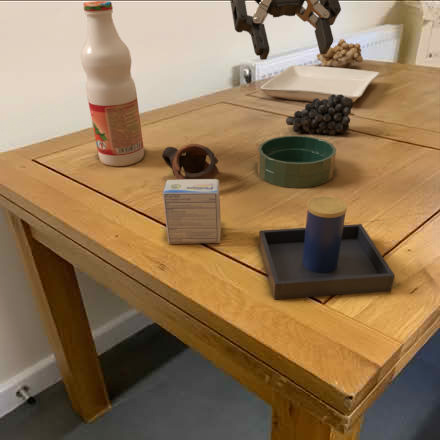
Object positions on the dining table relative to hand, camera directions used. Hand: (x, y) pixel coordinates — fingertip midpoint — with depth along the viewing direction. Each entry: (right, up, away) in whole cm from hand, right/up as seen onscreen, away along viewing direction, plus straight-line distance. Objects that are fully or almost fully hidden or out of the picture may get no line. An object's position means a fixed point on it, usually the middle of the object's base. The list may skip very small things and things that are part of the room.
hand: (296, 53), depth 61 cm
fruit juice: (-31, -3, +37) cm, 48 cm away
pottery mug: (-15, -11, +26) cm, 32 cm away
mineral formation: (+30, +44, +95) cm, 109 cm away
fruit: (+13, +5, +46) cm, 48 cm away
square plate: (+19, +26, +72) cm, 79 cm away
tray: (+4, -28, +3) cm, 28 cm away
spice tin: (+4, -27, +3) cm, 28 cm away
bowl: (+4, -9, +28) cm, 30 cm away
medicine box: (-14, -23, +11) cm, 29 cm away
